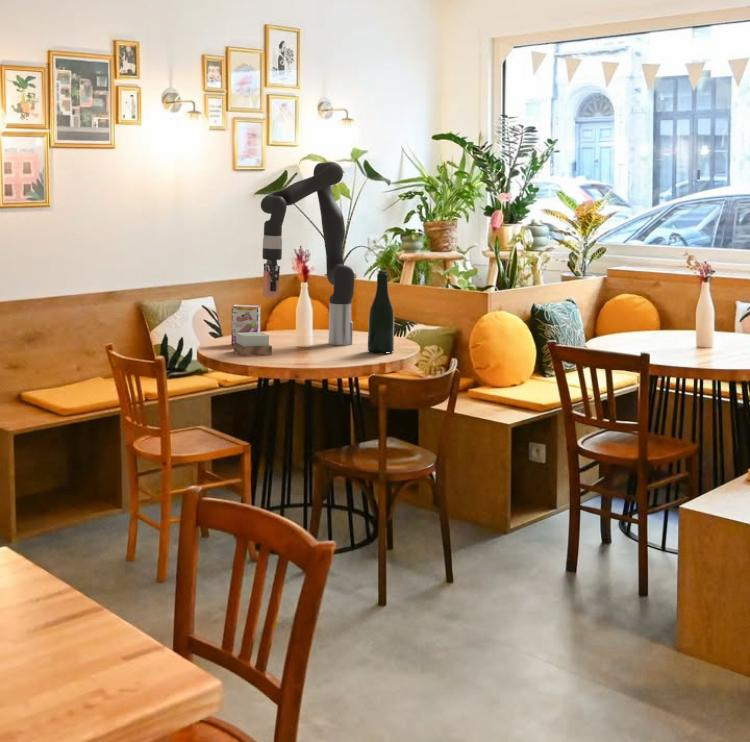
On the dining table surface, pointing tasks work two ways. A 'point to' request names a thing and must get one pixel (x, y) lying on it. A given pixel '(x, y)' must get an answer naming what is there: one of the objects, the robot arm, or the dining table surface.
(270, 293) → the brick-red block
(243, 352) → the tan shallow square tray
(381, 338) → the beer bottle
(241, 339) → the painted slab
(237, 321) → the candy bar box
